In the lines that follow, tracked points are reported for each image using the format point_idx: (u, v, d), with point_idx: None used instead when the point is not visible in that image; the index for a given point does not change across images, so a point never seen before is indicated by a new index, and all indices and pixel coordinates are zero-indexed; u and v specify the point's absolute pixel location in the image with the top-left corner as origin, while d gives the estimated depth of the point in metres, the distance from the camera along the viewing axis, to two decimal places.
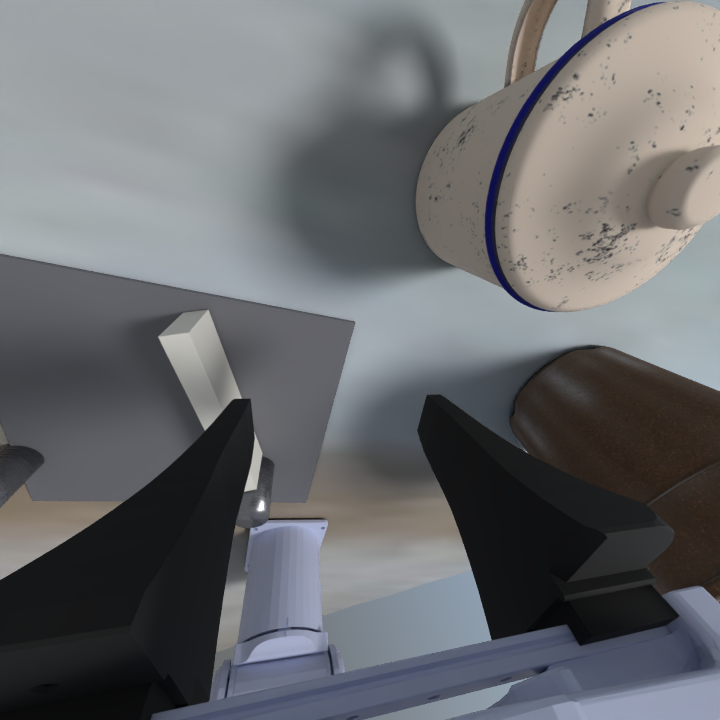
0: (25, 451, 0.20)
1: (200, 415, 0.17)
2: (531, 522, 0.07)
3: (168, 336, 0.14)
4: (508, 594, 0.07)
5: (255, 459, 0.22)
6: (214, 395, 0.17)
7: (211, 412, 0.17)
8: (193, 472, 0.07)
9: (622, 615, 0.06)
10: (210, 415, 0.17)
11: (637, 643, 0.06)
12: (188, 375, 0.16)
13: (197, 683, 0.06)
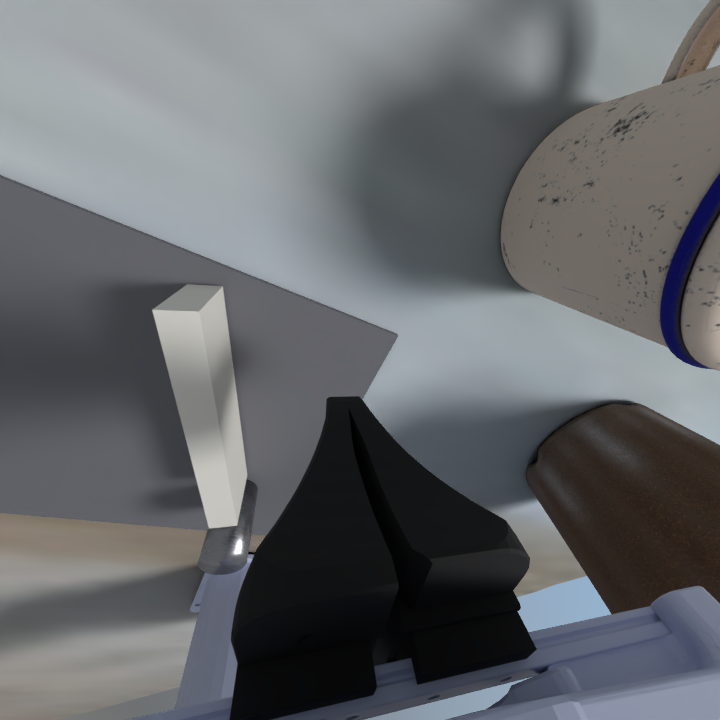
0: None
1: (186, 425, 0.12)
2: (389, 540, 0.06)
3: (168, 311, 0.10)
4: None
5: (240, 484, 0.17)
6: (213, 401, 0.12)
7: (203, 424, 0.13)
8: (340, 462, 0.07)
9: (468, 649, 0.05)
10: (200, 427, 0.13)
11: (487, 680, 0.05)
12: (183, 370, 0.11)
13: None
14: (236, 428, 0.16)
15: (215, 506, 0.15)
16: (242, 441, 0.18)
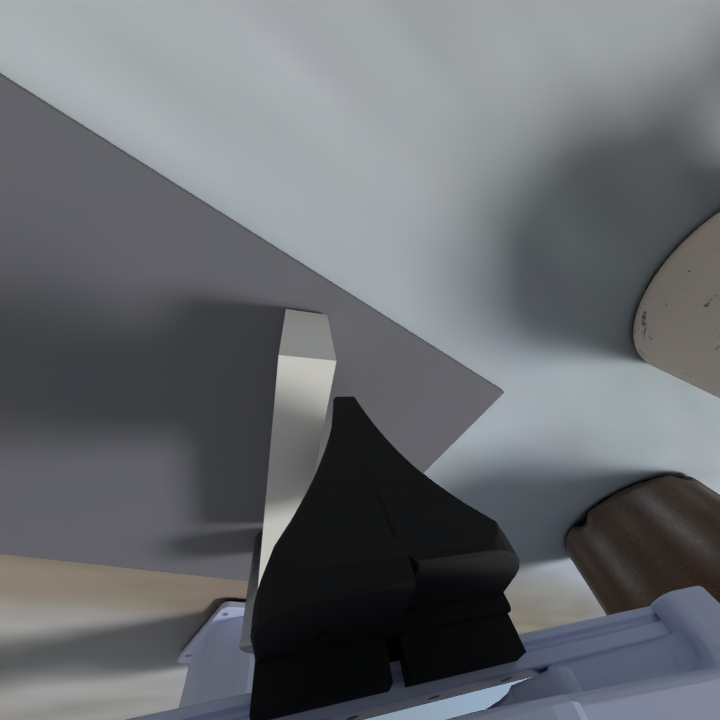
0: None
1: (271, 491, 0.10)
2: None
3: (297, 359, 0.07)
4: None
5: None
6: (314, 466, 0.09)
7: (291, 490, 0.10)
8: (350, 462, 0.07)
9: (457, 651, 0.05)
10: (287, 494, 0.10)
11: (477, 683, 0.05)
12: (291, 429, 0.08)
13: None
14: None
15: None
16: None
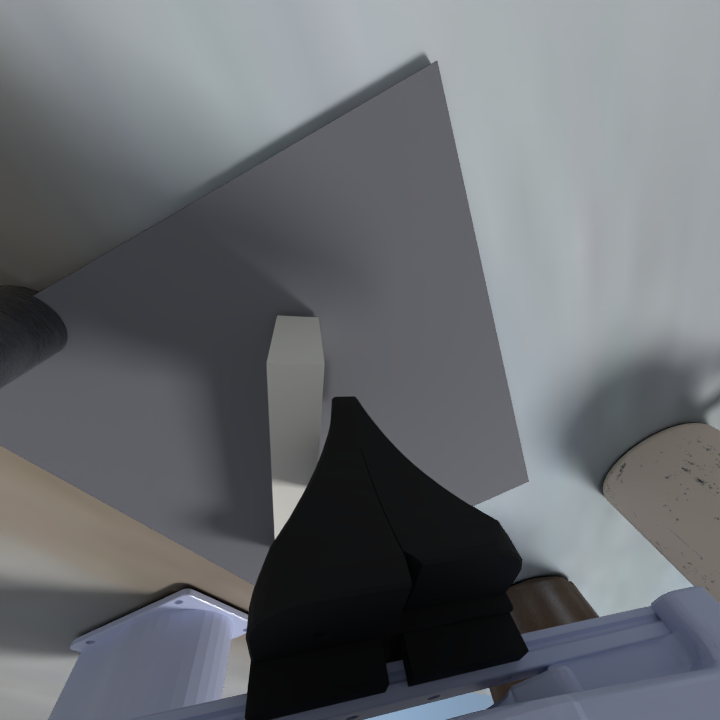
0: (56, 328, 0.09)
1: (277, 495, 0.10)
2: None
3: (285, 365, 0.07)
4: None
5: None
6: None
7: (297, 492, 0.10)
8: (348, 462, 0.07)
9: (460, 651, 0.05)
10: (293, 496, 0.10)
11: (479, 682, 0.05)
12: (288, 434, 0.09)
13: None
14: None
15: None
16: None
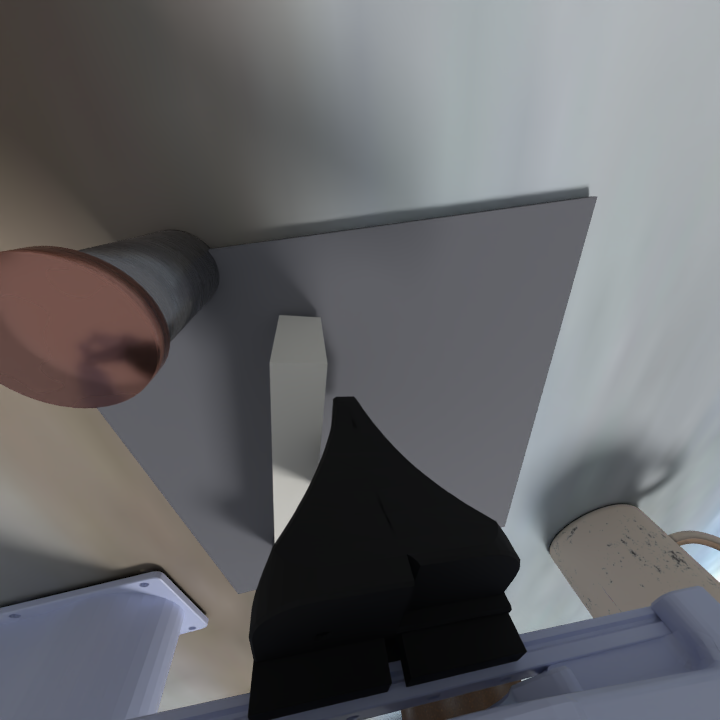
0: (215, 286, 0.09)
1: (278, 495, 0.10)
2: None
3: (288, 365, 0.07)
4: None
5: None
6: None
7: (298, 492, 0.10)
8: (349, 461, 0.07)
9: (458, 651, 0.05)
10: (294, 496, 0.10)
11: (477, 683, 0.05)
12: (290, 434, 0.09)
13: None
14: None
15: None
16: None
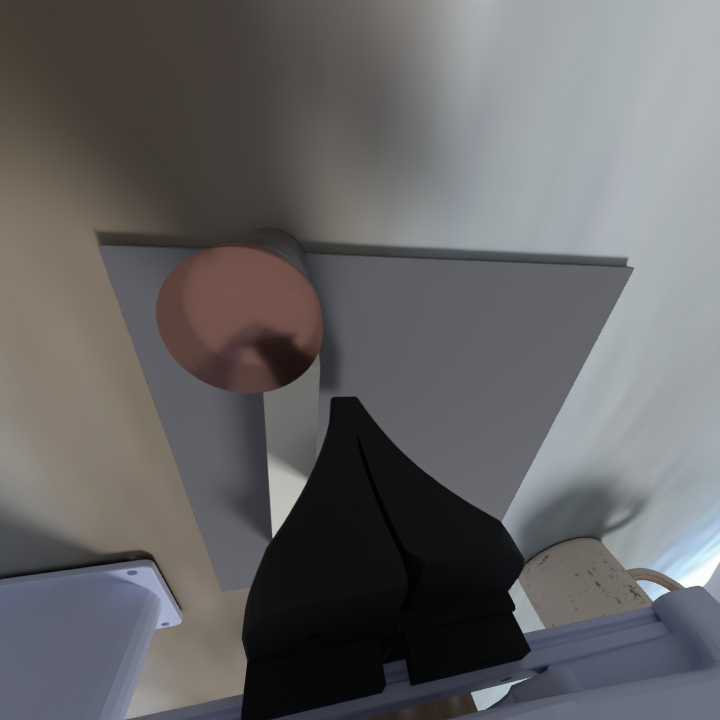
0: None
1: (275, 497, 0.10)
2: None
3: None
4: None
5: None
6: None
7: (294, 494, 0.10)
8: (346, 462, 0.07)
9: (462, 650, 0.05)
10: (291, 498, 0.10)
11: (482, 682, 0.05)
12: (285, 436, 0.09)
13: None
14: None
15: None
16: None
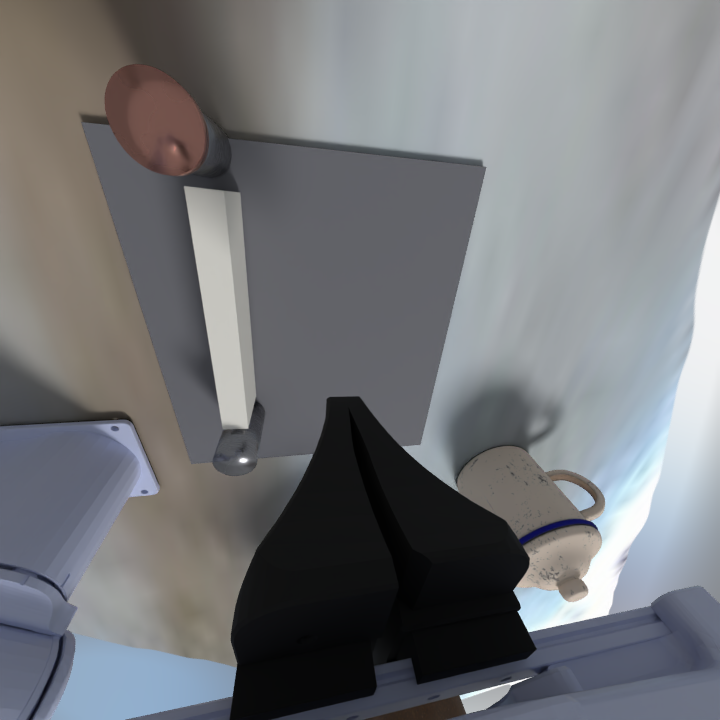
0: (228, 164, 0.14)
1: (207, 312, 0.14)
2: (389, 540, 0.06)
3: (197, 189, 0.11)
4: None
5: (251, 395, 0.19)
6: (232, 288, 0.14)
7: (222, 311, 0.14)
8: (340, 462, 0.07)
9: (468, 649, 0.05)
10: (220, 315, 0.14)
11: (487, 680, 0.05)
12: (207, 252, 0.13)
13: None
14: (248, 338, 0.18)
15: (229, 404, 0.17)
16: (252, 357, 0.19)
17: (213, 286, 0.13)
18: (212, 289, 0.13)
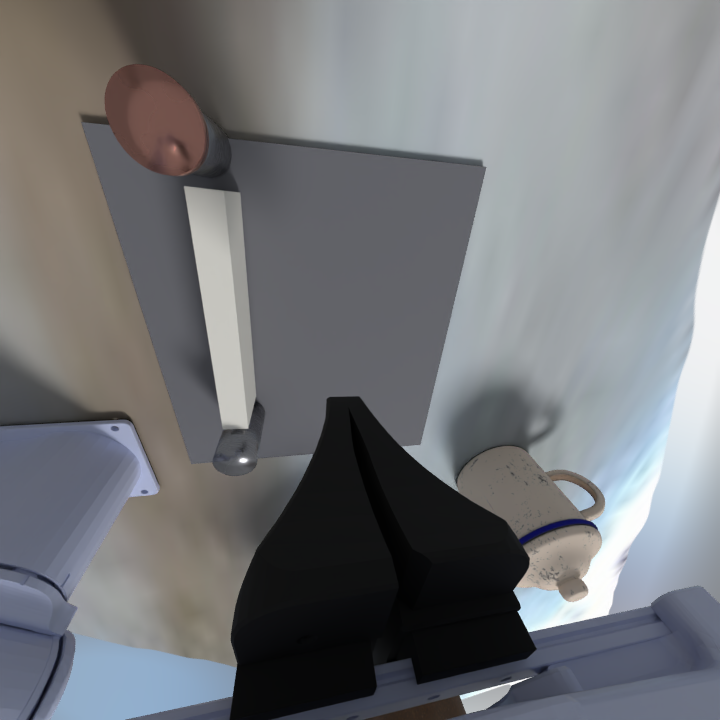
0: (228, 164, 0.14)
1: (207, 312, 0.14)
2: (389, 540, 0.06)
3: (197, 189, 0.11)
4: None
5: (251, 395, 0.19)
6: (232, 288, 0.14)
7: (222, 311, 0.14)
8: (340, 462, 0.07)
9: (468, 649, 0.05)
10: (220, 315, 0.14)
11: (487, 680, 0.05)
12: (207, 252, 0.13)
13: None
14: (248, 338, 0.18)
15: (229, 404, 0.17)
16: (252, 357, 0.19)
17: (213, 286, 0.13)
18: (212, 289, 0.13)
